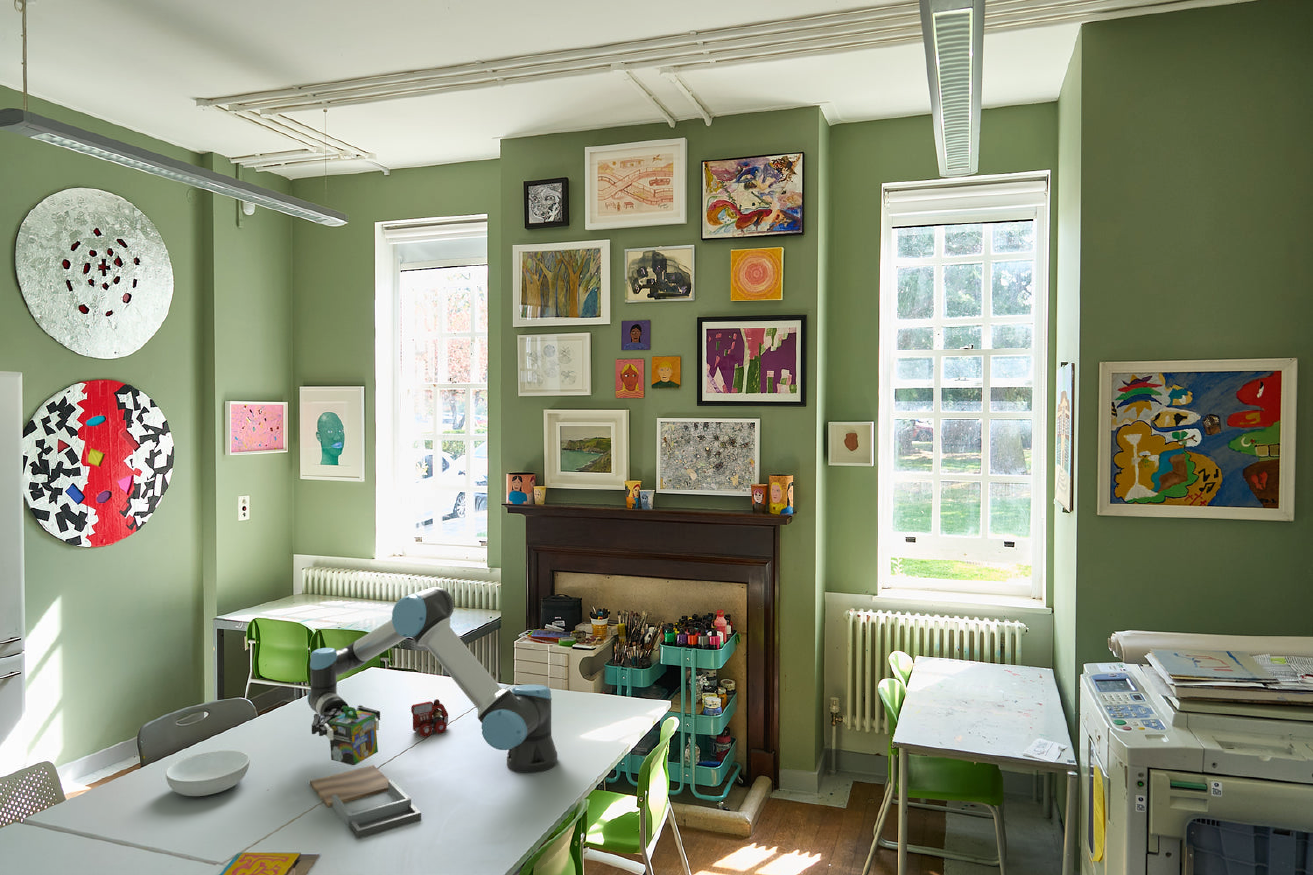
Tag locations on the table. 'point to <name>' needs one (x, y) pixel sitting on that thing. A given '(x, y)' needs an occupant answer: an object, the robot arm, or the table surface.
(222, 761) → the serving bowl
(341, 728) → the chalk box
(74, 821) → the table surface
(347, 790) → the wooden board
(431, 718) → the toy fire truck
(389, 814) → the grey open tray
